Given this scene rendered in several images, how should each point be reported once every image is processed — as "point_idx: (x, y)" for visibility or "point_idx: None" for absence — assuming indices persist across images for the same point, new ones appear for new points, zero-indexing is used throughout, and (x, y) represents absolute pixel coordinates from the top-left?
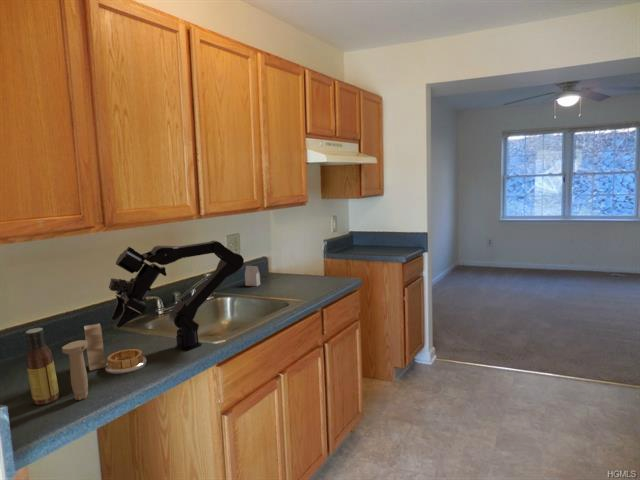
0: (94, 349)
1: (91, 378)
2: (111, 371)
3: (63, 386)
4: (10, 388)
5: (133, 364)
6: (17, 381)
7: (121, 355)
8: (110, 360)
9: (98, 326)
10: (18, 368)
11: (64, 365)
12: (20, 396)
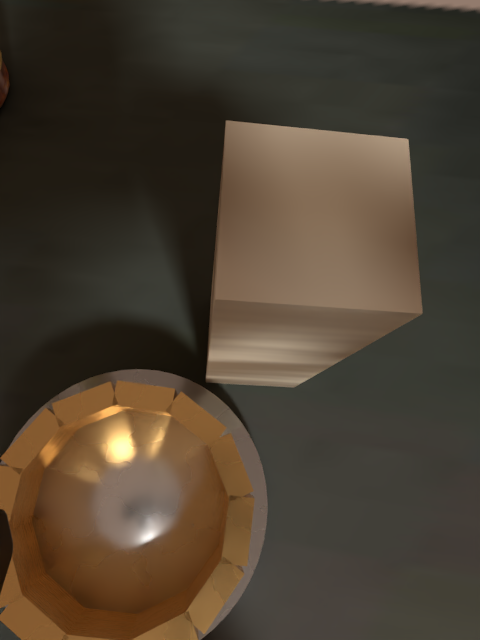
0: (212, 292)
1: (81, 289)
2: (59, 395)
3: (77, 165)
4: (224, 4)
5: None
6: (290, 29)
7: (226, 495)
8: (84, 395)
9: (269, 275)
10: (456, 45)
11: None
12: (99, 22)
